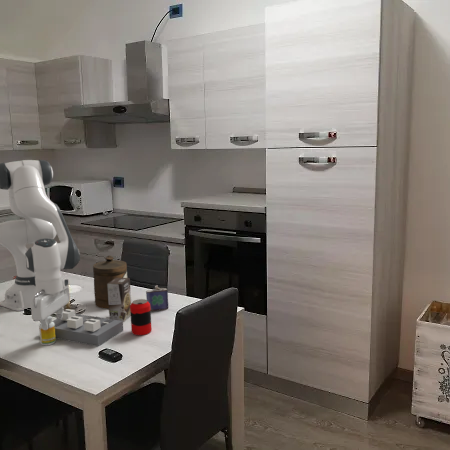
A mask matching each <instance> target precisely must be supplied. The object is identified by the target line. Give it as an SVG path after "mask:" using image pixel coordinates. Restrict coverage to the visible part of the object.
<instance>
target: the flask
mask: <svg viewBox="0 0 450 450" xmlns="http://www.w3.org/2000/svg"><path fill="white" fill-rule="evenodd" d="M158 286H159V285H157V284H156V285H155V286H154V288H153V289H148V290H146V291H145V293H146V294H145V296H146V300H147V301H148V302H149V303H150V309H151V312H158V311H166V310H169V290H168V289H167V288H164V287H158Z"/></svg>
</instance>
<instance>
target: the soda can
mask: <svg viewBox="0 0 450 450" xmlns="http://www.w3.org/2000/svg"><path fill="white" fill-rule="evenodd" d="M151 312H152V311H151V309H150V303H149V302H148V301H147V299H142V298H141V299H135V300H133V301H131V305H130V314H131V316H130V326H131V327H130V328H131V333H132V334H133V335H134V336H144V335H148V334H150V333H151V332H152V315H151Z"/></svg>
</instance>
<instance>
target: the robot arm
mask: <svg viewBox="0 0 450 450" xmlns="http://www.w3.org/2000/svg"><path fill="white" fill-rule="evenodd" d="M53 178H54V171H53V167H52V165H51V164H50V162H49V161H48V160H44V159H36V160H34V159H25V160H24V159H22V160H17V161H16V160H15V161H10V162H0V190H6V191H7V192H8V200H9V209H10V211H11V212H12V213H13V214H14V215H16V216H17V217H20V218H23V219H14V220H13V219H12V220H11V219H10V220H6V221H3V222H0V246H2V247H3V248H5V249H7V250H8V252H10V254H11V255H12V257H13V260H14V263H15V268H16V275H15V276H13V277H12V279H13V280H14V283H13V284H12V285H11V286H10V287H9V288H8V289H6V291H5V293H4V299H3V300H2V301H1V302H0V306H1V307H4V308H7V309H9V310H12V311H16V312H19V311H20V312H21V311H25V310H24V309H27V308H31V309H30V312H31V319H32V320H33V321H34V322H40V324H42V328H43V330H47V329H49V324H48V323H47V321H46V320H47V317H49V316H52V315H53V314H54V313H56V314H55V319H57V320H61V319H62V318H63V315H62V314H63V311H64V310H65V308H64V307H65V306H66V305H67V304H69V302H70V298H71V297H70V296H71V295H70V287H69V285H70V278H63V274H62V272H61V270H73V269H74V268H75V267H76V266H77V265H78V264H79V263H80V261H81V253H80V249H79V248H78V246H77V244H76V242H75V240H74V239H73V236H72V234H71V232H70V229H69V227H68V225H67V222H66V220H65V217H64V215H63V213H62V211H61V209H60V207H59V206H58V204H57V203H55V202H53V201H52V200H51V199H50V198H49V197H48V196H47V193H46V189H45V186H48V185H50V183H52V182H53ZM56 236H57V237H58V240H59V242H57V241H56V239H55V238H56ZM32 244H33V246H30V247H29V248H28V247H27V245H32ZM27 310H28V309H27Z"/></svg>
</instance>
